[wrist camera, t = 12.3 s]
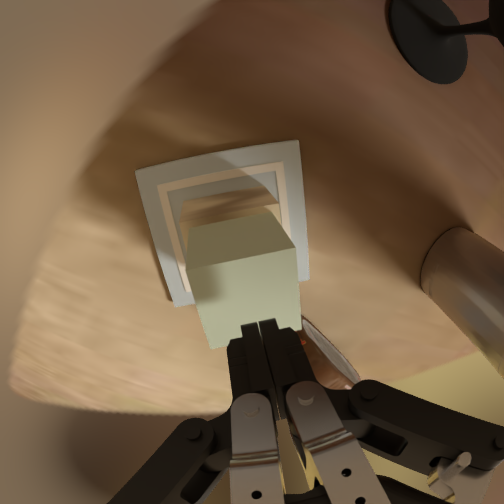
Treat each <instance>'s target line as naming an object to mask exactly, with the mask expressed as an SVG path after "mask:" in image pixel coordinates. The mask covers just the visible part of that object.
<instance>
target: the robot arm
mask: <svg viewBox="0 0 504 504" xmlns="http://www.w3.org/2000/svg"><path fill="white" fill-rule="evenodd" d="M421 286H422V289H423V291H424V292H425V293H426V294H427V295H428V296H429V297H430V298H431V299H432V300H433V301H434V302H435V303H436V304H437V305H438V306H439V307H440V308H441V309H442V310H443V312H444V313H445V314H446V315H447V316H448V317H449V318H450V319H451V320H452V321H453V322H454V323H455V324H456V325H457V326H458V327H459V328H460V330H461V331H462V332H463V333H464V334H465V335H466V336H467V337H468V338H469V339H470V340H471V342H472V343H473V344H474V345H475V346H476V347H477V348H478V349H479V350H480V352H481V353H482V354H483V355H484V356H485V357H486V358H487V360H488V361H489V362H490V363H491V364H492V366H493V367H494V368H495V369H496V370H497V371H498V373H499V374H500V375H501V376H502V377H503V379H504V252H503V251H502V250H500V249H499V248H497V247H496V246H494V245H493V244H491V243H490V242H488V241H487V240H485V239H484V238H482V237H480V236H479V235H477V234H473V233H472V232H470V231H468V230H467V229H465V228H463V227H456V228H452V229H450V230H449V231H447V232H446V233H444V234H443V235H442V236H441V237H440V238H439V239H438V240H437V241H436V242H435V243H434V245H433V246H432V248H431V249H430V251H429V253H428V255H427V256H426V259H425V261H424V264H423V267H422V271H421ZM258 323H259V327H258V324H257V322H253V323H248V324H243V325H240V326H241V332H242V337H240V338H235V339H230V342H229V344H228V347H227V357H228V365H229V373H230V380H231V388H232V395H233V400H232V404H231V406H230V408H229V409H228V410H227V411H226V412H225V413H224V414H222V415H221V416H219V417H217V418H214V419H212V420H210V421H206V420H204V419H201V418H191V419H187V420H185V421H183V422H182V423H180V424H179V425H178V426H177V428H176V429H175V430H174V431H173V433H171V435H170V436H169V437H168V438H167V439H166V440H165V441H164V443H163V444H162V445H161V446H160V447H159V448H158V449H157V451H156V452H155V453H154V454H153V455H152V456H151V457H150V458H149V460H148V461H147V462H146V463H145V464H144V465H143V466H142V467H141V468H140V469H139V470H138V472H137V473H136V474H135V475H134V476H133V477H132V478H131V479H130V480H129V481H128V482H127V484H125V485H124V487H123V488H122V489H121V490H120V491H119V492H118V493H117V494H116V495H115V496H114V497H113V498H112V499H111V500H110V501H109V502H108V503H107V504H202V503H203V502H204V501H205V499H206V498H207V497H208V496H209V494H210V493H211V492H212V490H213V489H214V488H215V486H216V485H217V484H218V482H219V481H220V480H221V478H222V477H223V476H224V474H225V473H226V471H227V470H228V469H229V467H230V490H231V504H481V502H482V500H483V498H484V496H485V493H486V491H487V488H488V486H489V483H490V480H491V478H492V475H493V472H494V470H495V468H496V466H497V465H499V464H500V463H501V462H502V461H504V427H503V426H500V425H496V424H493V423H490V422H487V421H484V420H481V419H477V418H475V417H471V416H468V415H465V414H463V413H460V412H457V411H453V410H451V409H448V408H445V407H443V406H440V405H437V404H434V403H431V402H429V401H426V400H424V399H421V398H418V397H416V396H413V395H410V394H408V393H405V392H403V391H400V390H398V389H395V388H393V387H390V386H388V385H385V384H383V383H381V382H378V381H375V380H362V381H360V382H358V383H356V384H355V385H354V386H353V387H352V388H351V389H340V390H337V389H329V388H326V387H324V386H323V385H321V384H320V383H319V382H318V381H317V379H316V377H315V375H314V372H313V370H312V367H311V365H310V362H309V360H308V357H307V355H306V352H305V350H304V347H303V345H302V343H301V340H300V338H299V335H298V333H297V332H295V331H294V330H293V329H292V328H291V327H287V328H282V329H279V327H278V324H277V321H276V319H275V318H272V319H267V320H262V321H258ZM259 329H260V331H259ZM260 334H261V335H260ZM277 406H278V408H277ZM278 409H279V413H280V417H281V419H285V418H287V421H288V425H289V429H290V435H291V438H292V441H293V443H294V445H295V448H296V451H297V453H298V456H299V459H300V461H301V463H302V466H303V469H304V472H305V475H306V479H307V482H308V485H309V488H310V491H308V492H306V493H303V494H286V491H285V486H284V480H283V473H282V467H281V460H280V454H279V447H278V441H277V437H278V431H277V426H276V421H277V420H279V414H278ZM362 448H363V449H366V450H367V451H370V452H372V453H374V454H376V455H378V456H381V457H383V458H385V459H388V460H390V461H392V462H394V463H397V464H399V465H402V466H404V467H407V468H409V469H412V470H414V471H417V472H419V473H422V474H425V475H427V476H428V477H427V483H428V486H429V488H430V489H431V490H432V491H433V492H435V493H437V494H439V496H440V497H441V498H442V499H439V498H437V497H434V496H432V495H429V494H427V493H424V492H422V491H419V490H417V489H415V488H412V487H410V486H408V485H406V484H403V483H401V482H399V481H397V480H395V479H392V478H390V477H386V476H382V475H376V474H375V473H374V471H373V469H372V467H371V465H370V463H369V462H368V460H367V458H366V456H365V454H364V452H363V450H362Z"/></svg>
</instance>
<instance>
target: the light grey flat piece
mask: <svg viewBox="0 0 504 504" xmlns="http://www.w3.org/2000/svg"><path fill="white" fill-rule="evenodd" d="M135 175H136V179H137V183H138V187H139V191H140V195H141V199H142V203H143V207H144V210H145V214H146V217H147V221H148V225H149V228H150V231H151V235H152V238H153V242H154V245H155V248H156V251H157V255H158V258H159V261H160V264H161V267H162V270H163V273H164V276H165V279H166V282H167V285H168V288H169V291H170V294H171V297H172V300H173V303H174V306H175V307H179V306H185V305H190V304H195V300H194V297H193V294H192V291H191V287H190V284H189V281H188V278H187V274H186V271H185V268H186V255H187V252H186V248H185V244H184V240H183V236H182V233H181V229H180V225H179V220H180V215H181V210H182V205H183V201H186V200H191V199H196V198H200V197H205V196H210V195H215V194H220V193H225V192H231V191H236V190H241V189H247V188H252V187H258V186H265V187H266V188H267V189H268V191H269V192H270V193H271V194H272V195H273V197H274V198H275V199H276V200H277V201H278V203H279V208H280V216H281V225H282V228H283V229H284V231H285V232H286V233H287V235H288V236H289V238H290V239H291V241H292V242H293V244H294V245H295V247H296V255H297V267H298V280H299V282H301V281H306V280H310V276H309V257H308V240H307V225H306V211H305V199H304V187H303V176H302V166H301V156H300V146H299V140H289V141H281V142H274V143H266V144H260V145H253V146H247V147H241V148H235V149H229V150H223V151H218V152H213V153H207V154H202V155H197V156H193V157H188V158H183V159H179V160H174V161H170V162H166V163H161V164H157V165H153V166H149V167H145V168H141V169H138V170H136V171H135Z"/></svg>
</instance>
